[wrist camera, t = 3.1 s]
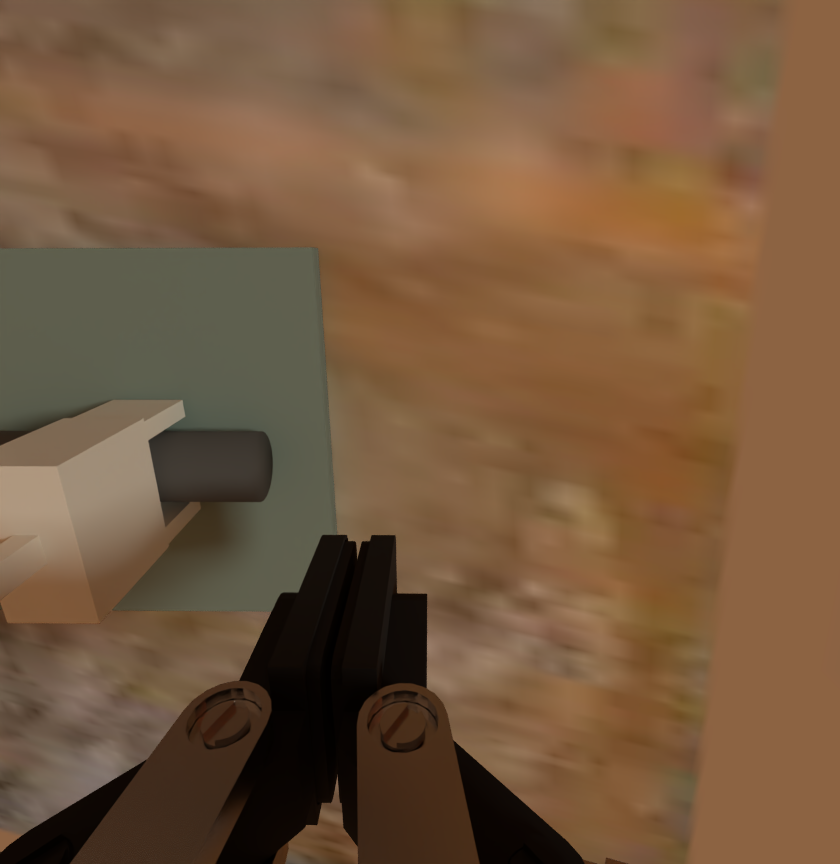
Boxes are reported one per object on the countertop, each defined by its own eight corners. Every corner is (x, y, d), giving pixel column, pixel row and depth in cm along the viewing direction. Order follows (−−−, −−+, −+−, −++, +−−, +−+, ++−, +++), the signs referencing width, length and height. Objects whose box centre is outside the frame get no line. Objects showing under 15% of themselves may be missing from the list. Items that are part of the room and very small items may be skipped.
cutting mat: (-274, 250, 16) (-311, 249, 16) (317, 248, 16) (312, 247, 15) (-121, 596, 21) (-143, 609, 20) (341, 599, 21) (337, 613, 20)
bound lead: (-9, 420, 18) (-77, 444, 15) (268, 420, 17) (244, 445, 15) (11, 483, 18) (-51, 515, 16) (276, 484, 18) (253, 517, 16)
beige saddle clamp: (112, 397, 17) (-122, 498, 10) (181, 397, 17) (-2, 498, 10) (137, 510, 18) (-51, 672, 11) (201, 510, 18) (54, 673, 11)
